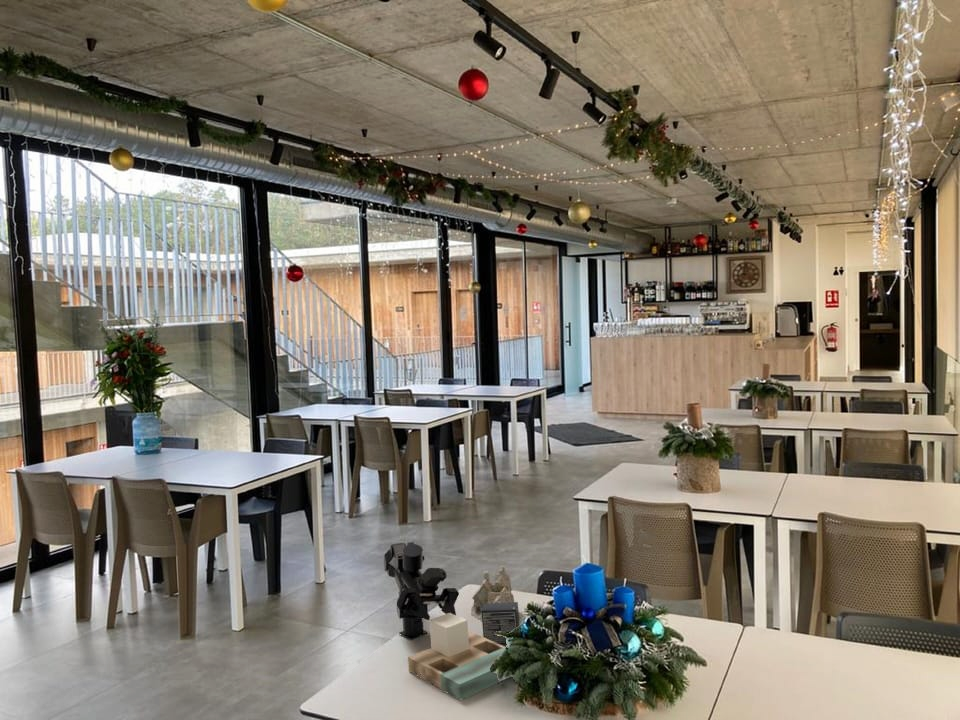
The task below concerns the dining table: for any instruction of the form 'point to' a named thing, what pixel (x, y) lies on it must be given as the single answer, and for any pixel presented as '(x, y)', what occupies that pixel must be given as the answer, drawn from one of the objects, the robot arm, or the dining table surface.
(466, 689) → the trap board
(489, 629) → the small box
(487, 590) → the ceramic cottage
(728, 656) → the dining table surface
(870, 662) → the dining table surface
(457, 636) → the cream block
